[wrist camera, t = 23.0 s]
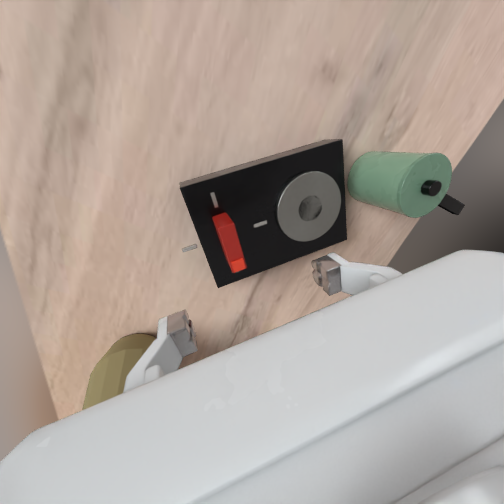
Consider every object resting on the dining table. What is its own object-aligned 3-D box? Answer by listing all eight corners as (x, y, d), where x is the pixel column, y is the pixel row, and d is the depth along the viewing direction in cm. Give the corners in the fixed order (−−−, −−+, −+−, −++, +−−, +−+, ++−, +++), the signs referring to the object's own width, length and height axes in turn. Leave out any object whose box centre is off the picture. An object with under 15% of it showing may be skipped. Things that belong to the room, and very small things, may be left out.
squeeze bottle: (108, 320, 26) (8, 582, 10) (180, 329, 29) (186, 539, 14) (93, 373, 28) (-9, 655, 13) (161, 376, 32) (148, 603, 16)
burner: (335, 162, 23) (339, 162, 23) (339, 227, 27) (342, 229, 26) (269, 183, 22) (271, 183, 22) (281, 248, 25) (284, 250, 25)
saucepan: (414, 137, 28) (499, 134, 21) (408, 200, 32) (479, 216, 24) (345, 158, 27) (411, 164, 19) (348, 221, 30) (404, 246, 23)
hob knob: (211, 216, 22) (218, 229, 18) (225, 211, 22) (234, 223, 19) (225, 257, 24) (233, 275, 21) (238, 252, 24) (248, 269, 21)
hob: (325, 139, 25) (343, 138, 22) (332, 231, 30) (348, 240, 27) (160, 188, 22) (158, 194, 20) (198, 280, 27) (201, 295, 25)
